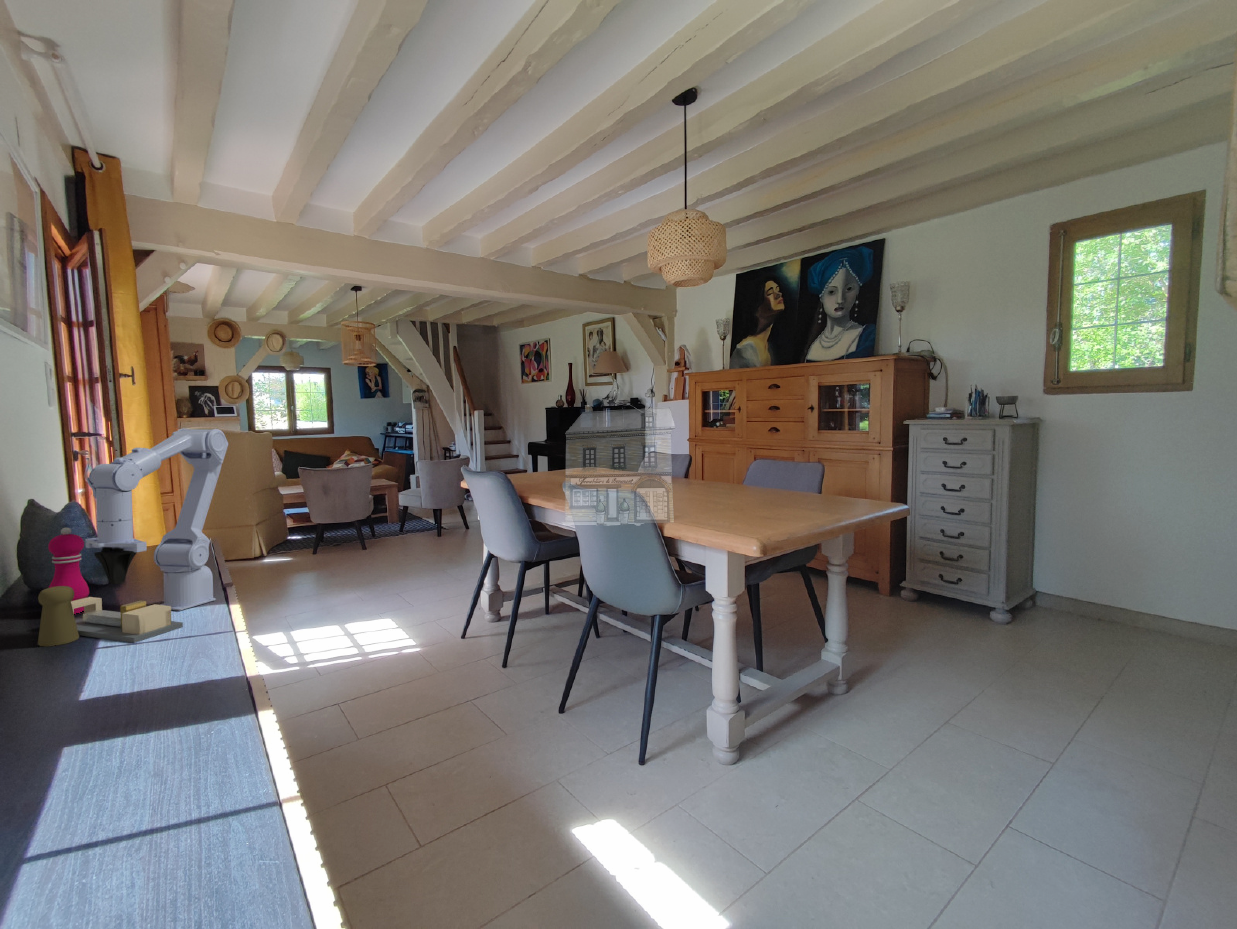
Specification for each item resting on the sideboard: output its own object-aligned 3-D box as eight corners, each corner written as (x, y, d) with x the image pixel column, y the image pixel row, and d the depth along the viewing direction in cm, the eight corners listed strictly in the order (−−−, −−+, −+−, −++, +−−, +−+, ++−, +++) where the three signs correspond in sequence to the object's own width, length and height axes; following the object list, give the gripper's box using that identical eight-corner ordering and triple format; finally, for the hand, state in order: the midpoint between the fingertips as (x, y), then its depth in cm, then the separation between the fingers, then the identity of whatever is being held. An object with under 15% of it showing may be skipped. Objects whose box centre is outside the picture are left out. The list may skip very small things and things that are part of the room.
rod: (101, 617, 127) (100, 596, 127) (160, 624, 123) (160, 602, 123) (80, 622, 123) (79, 601, 123) (141, 630, 119) (140, 608, 119)
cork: (38, 649, 112) (35, 593, 111) (36, 641, 116) (33, 587, 115) (81, 640, 116) (78, 587, 115) (77, 633, 120) (74, 581, 119)
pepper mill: (63, 618, 129) (60, 530, 128) (38, 616, 131) (35, 529, 130) (97, 609, 136) (95, 526, 135) (74, 607, 138) (71, 524, 137)
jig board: (97, 616, 131) (96, 594, 131) (182, 626, 125) (182, 604, 125) (44, 630, 122) (43, 607, 121) (134, 642, 116) (133, 618, 115)
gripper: (67, 520, 120) (70, 584, 121) (120, 524, 116) (122, 590, 117) (105, 516, 127) (107, 576, 127) (156, 519, 123) (157, 582, 124)
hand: (117, 583), depth 123 cm, fingers closed
